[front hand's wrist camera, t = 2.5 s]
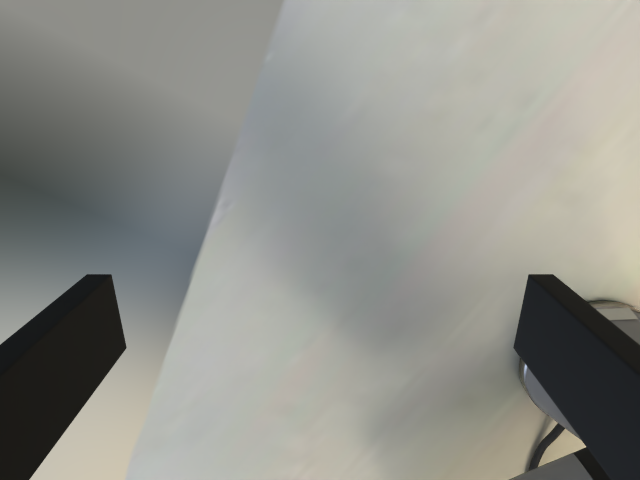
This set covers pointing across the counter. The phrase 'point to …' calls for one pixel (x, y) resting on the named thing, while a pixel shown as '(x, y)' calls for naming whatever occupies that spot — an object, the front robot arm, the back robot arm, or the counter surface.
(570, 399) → the front robot arm
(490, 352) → the counter surface
